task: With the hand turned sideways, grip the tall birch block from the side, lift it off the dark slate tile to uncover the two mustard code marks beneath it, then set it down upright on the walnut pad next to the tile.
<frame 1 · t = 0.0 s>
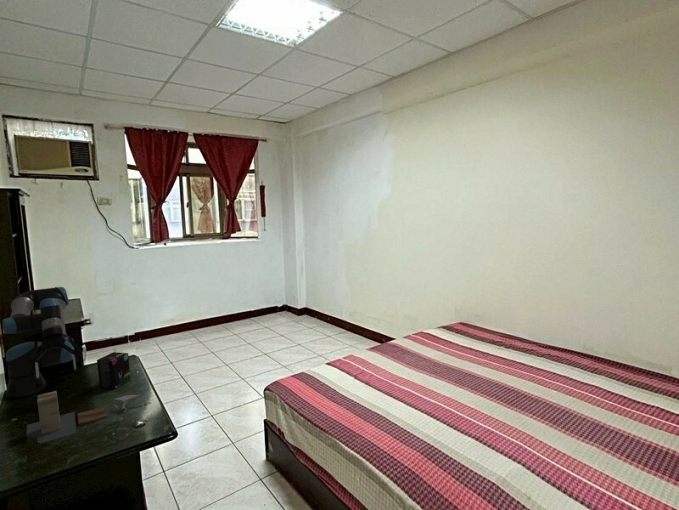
hand: (56, 373, 170), 15 cm above the table, tool tilted 35°, fingers open, 13 cm apart
code tile: (51, 428, 153), on the table
walnut pad: (92, 416, 161), on the table
birch block: (51, 428, 153), resting on code tile
tampon box: (115, 383, 192), on the table
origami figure: (129, 408, 168), on the table
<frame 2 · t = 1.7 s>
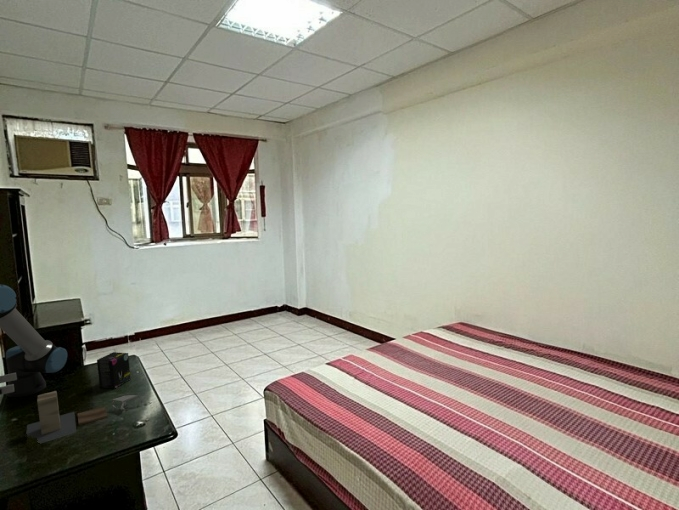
hand: (15, 381, 145), 23 cm above the table, tool horizontal, fingers open, 13 cm apart
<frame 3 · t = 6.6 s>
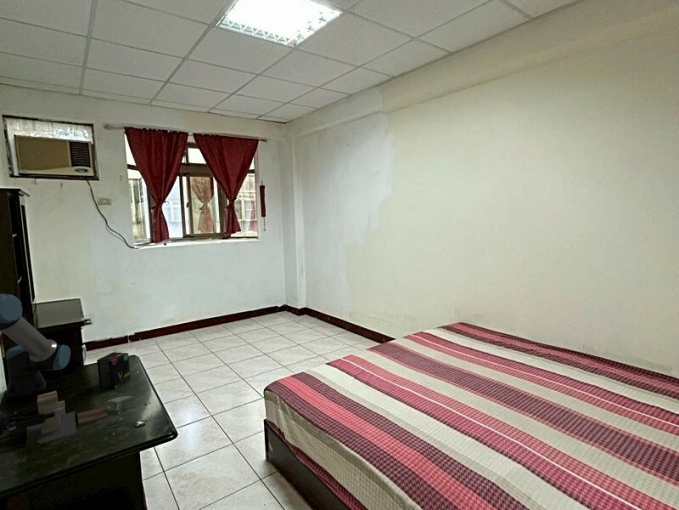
hand: (64, 407, 155), 8 cm above the table, tool horizontal, fingers closed on birch block, 6 cm apart
birch block: (51, 428, 153), resting on code tile, touching gripper
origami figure: (123, 409, 167), on the table
everything else where it was.
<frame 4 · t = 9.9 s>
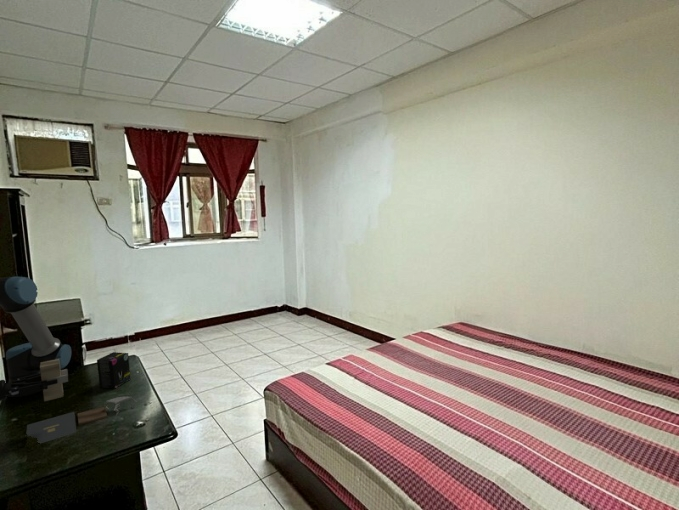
hand: (67, 375, 154), 21 cm above the table, tool horizontal, fingers closed on birch block, 6 cm apart
birch block: (54, 396, 152), point 14 cm above the table, touching gripper
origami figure: (121, 410, 167), on the table, touching walnut pad
everything else where it was.
when the fingers open (10 cm above the table, at t = 13.7 s): birch block drops 2 cm, resting on walnut pad.
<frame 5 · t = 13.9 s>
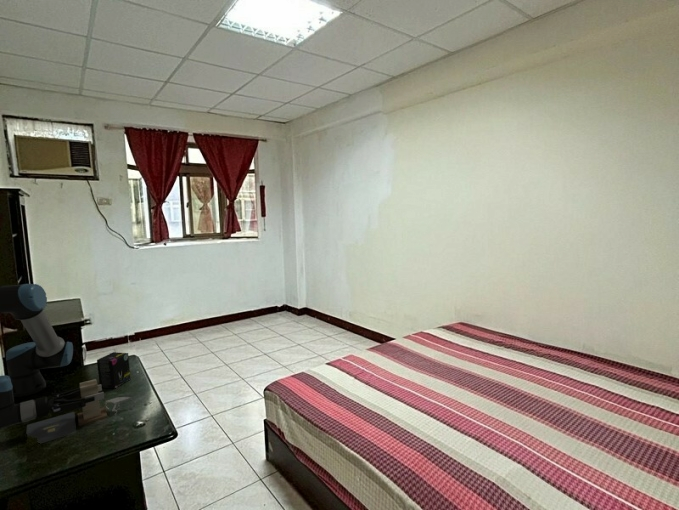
hand: (102, 391, 163), 10 cm above the table, tool horizontal, fingers open, 8 cm apart
birch block: (92, 414, 161), point 1 cm above the table, touching walnut pad
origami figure: (121, 410, 166), on the table
everything else where it was.
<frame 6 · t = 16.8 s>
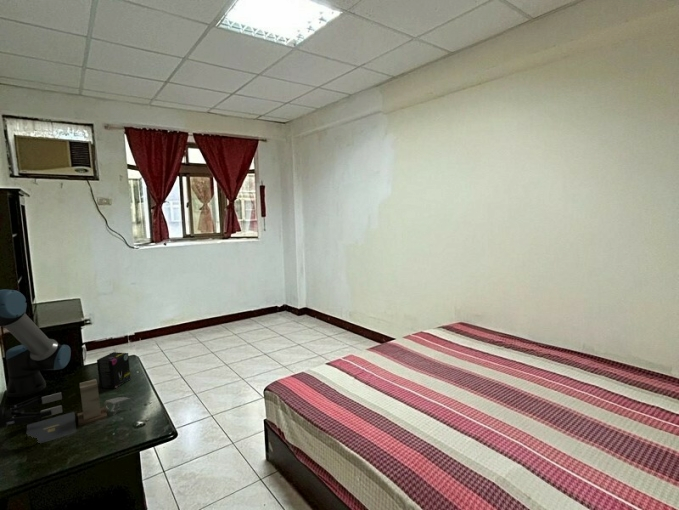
hand: (61, 401, 154), 10 cm above the table, tool horizontal, fingers open, 13 cm apart
nothing on the table moved.
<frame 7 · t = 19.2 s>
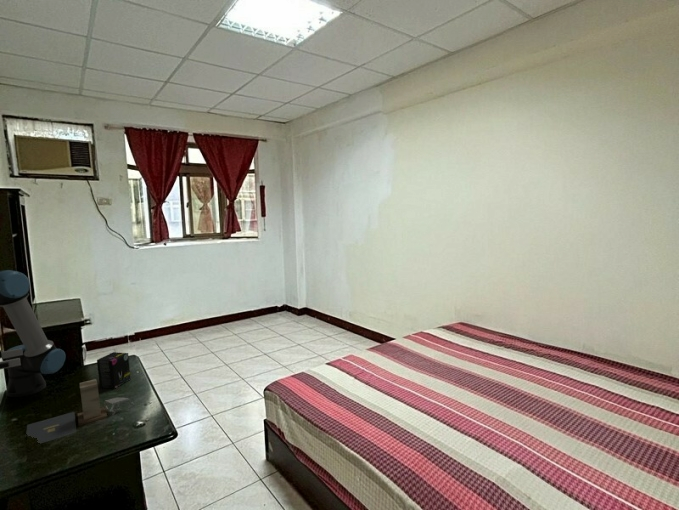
hand: (21, 356, 152), 30 cm above the table, tool horizontal, fingers open, 13 cm apart
nothing on the table moved.
at the end: birch block inside the target area on the walnut pad (0.0 cm from its centre), point 1.0 cm above the walnut pad's base; birch block tilted 0°; the gripper is holding nothing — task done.
